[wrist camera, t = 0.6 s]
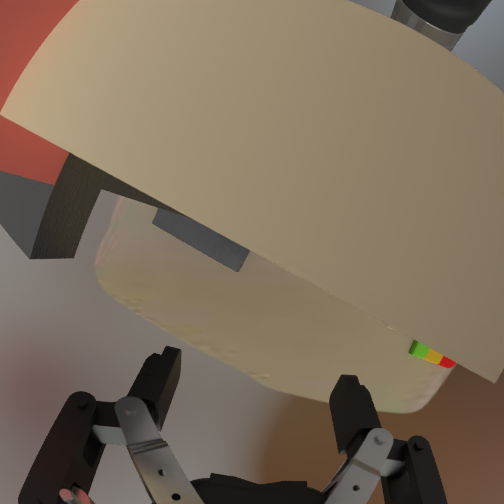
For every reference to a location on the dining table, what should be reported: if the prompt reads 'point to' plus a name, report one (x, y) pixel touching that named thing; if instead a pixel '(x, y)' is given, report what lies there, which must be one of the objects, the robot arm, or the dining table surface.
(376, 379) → the dining table surface
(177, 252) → the dining table surface
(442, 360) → the popsicle
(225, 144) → the mallet
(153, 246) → the dining table surface
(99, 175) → the stand
